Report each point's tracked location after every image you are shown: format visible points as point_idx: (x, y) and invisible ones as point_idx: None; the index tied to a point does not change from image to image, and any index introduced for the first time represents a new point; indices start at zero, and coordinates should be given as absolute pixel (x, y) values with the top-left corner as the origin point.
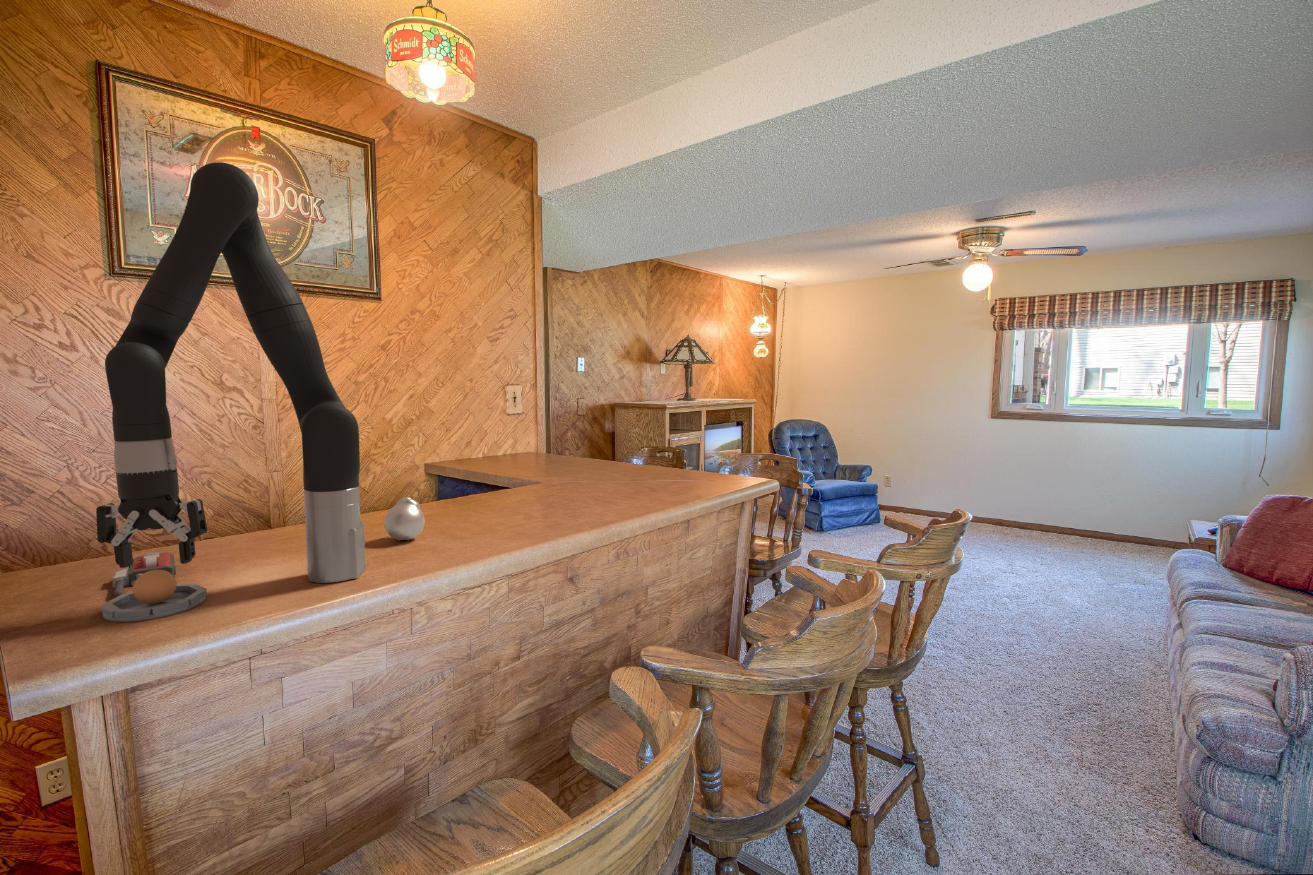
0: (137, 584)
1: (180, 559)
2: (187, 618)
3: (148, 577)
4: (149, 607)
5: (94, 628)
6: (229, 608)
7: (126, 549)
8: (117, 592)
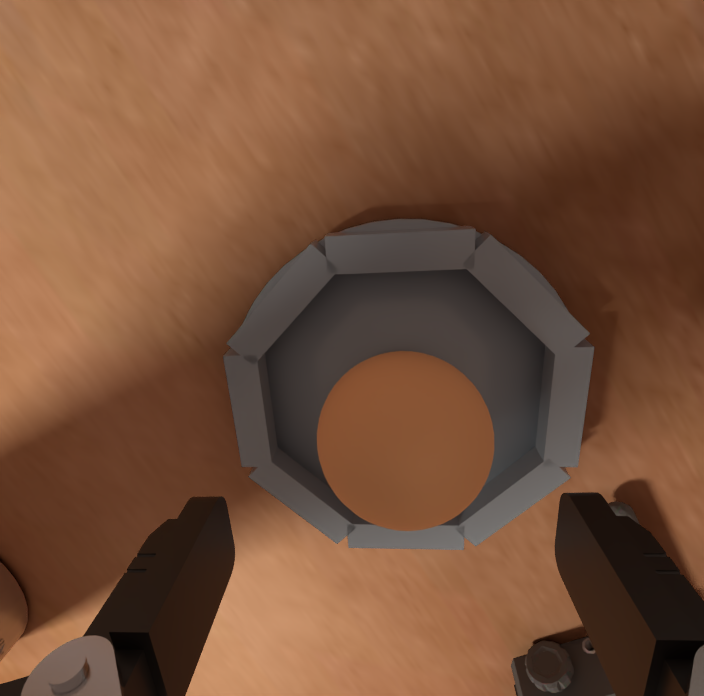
0: (449, 392)
1: (207, 512)
2: (179, 227)
3: (399, 423)
4: (344, 273)
5: (517, 157)
6: (87, 320)
7: (618, 630)
8: (620, 513)
